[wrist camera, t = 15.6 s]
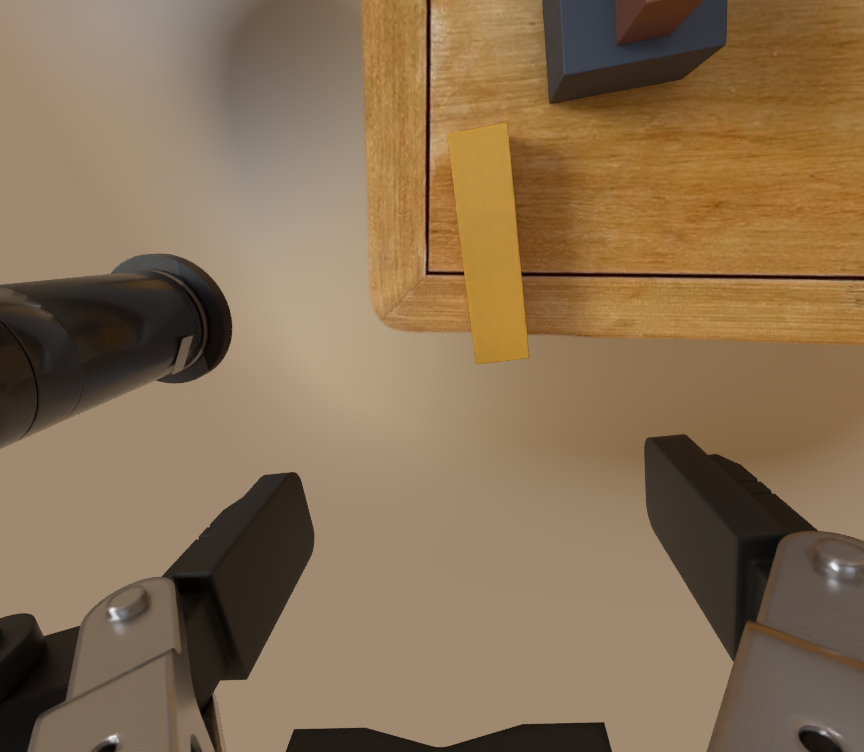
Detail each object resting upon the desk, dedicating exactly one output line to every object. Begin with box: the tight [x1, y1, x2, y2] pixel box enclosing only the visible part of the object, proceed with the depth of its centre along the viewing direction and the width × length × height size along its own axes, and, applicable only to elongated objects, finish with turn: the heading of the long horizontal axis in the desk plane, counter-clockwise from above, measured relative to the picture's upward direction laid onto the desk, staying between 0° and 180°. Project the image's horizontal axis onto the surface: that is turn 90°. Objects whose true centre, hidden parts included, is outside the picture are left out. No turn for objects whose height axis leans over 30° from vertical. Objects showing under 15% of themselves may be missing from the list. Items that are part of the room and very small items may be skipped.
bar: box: [447, 122, 529, 364], centre depth 34 cm, size 4×16×4 cm, turn 8°
